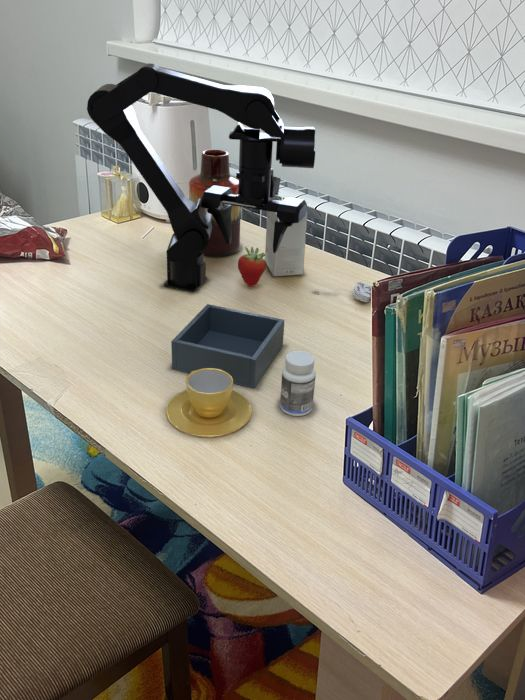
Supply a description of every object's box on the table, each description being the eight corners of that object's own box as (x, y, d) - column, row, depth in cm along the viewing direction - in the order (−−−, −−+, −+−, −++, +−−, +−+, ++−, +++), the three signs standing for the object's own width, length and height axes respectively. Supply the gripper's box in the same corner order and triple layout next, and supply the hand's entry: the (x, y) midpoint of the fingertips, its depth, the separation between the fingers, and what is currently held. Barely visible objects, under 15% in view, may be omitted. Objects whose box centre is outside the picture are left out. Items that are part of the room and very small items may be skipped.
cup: (267, 422, 96) (269, 390, 93) (190, 449, 90) (189, 415, 88) (225, 380, 105) (225, 350, 102) (152, 402, 99) (150, 370, 96)
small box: (303, 275, 139) (308, 212, 132) (272, 276, 138) (276, 214, 131) (293, 259, 146) (297, 199, 139) (264, 260, 144) (266, 200, 138)
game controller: (381, 303, 129) (383, 291, 128) (322, 306, 127) (323, 294, 126) (372, 290, 134) (374, 277, 133) (314, 293, 132) (315, 280, 131)
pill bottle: (278, 398, 101) (281, 348, 97) (309, 397, 102) (314, 348, 97) (281, 417, 97) (284, 366, 93) (314, 416, 98) (319, 366, 93)
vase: (247, 243, 152) (250, 150, 142) (227, 260, 143) (228, 163, 133) (202, 234, 155) (202, 143, 145) (180, 251, 147) (178, 155, 136)
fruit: (266, 291, 132) (268, 252, 128) (238, 292, 131) (240, 253, 127) (262, 280, 136) (264, 242, 132) (235, 281, 135) (236, 242, 131)
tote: (171, 369, 107) (171, 341, 104) (207, 329, 118) (207, 303, 115) (254, 388, 103) (255, 360, 101) (282, 346, 114) (284, 319, 112)
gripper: (318, 161, 125) (311, 241, 133) (223, 147, 130) (222, 226, 138) (300, 177, 116) (294, 262, 124) (199, 161, 121) (199, 245, 129)
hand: (251, 247), depth 129 cm, fingers open, 9 cm apart
